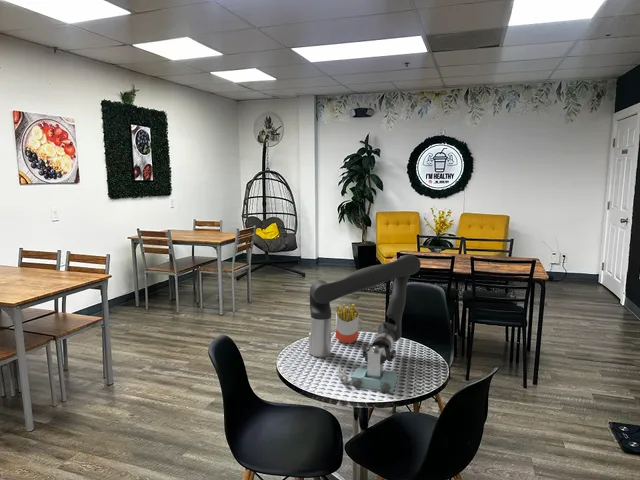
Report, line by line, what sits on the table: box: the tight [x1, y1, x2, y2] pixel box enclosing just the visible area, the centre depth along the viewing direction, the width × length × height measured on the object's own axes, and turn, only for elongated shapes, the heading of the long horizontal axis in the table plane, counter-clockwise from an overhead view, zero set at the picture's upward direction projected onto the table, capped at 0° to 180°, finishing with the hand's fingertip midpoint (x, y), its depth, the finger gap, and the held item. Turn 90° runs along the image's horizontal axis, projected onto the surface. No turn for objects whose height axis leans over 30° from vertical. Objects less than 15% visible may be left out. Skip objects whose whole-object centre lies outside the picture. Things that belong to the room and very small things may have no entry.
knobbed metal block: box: [366, 346, 384, 377], centre depth 167 cm, size 5×6×11 cm
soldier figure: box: [336, 365, 351, 385], centre depth 170 cm, size 8×5×12 cm
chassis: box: [350, 366, 398, 394], centre depth 168 cm, size 16×12×4 cm
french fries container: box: [335, 303, 360, 344], centre depth 211 cm, size 5×11×18 cm, turn 88°
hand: (374, 361), depth 164 cm, fingers closed on knobbed metal block, 4 cm apart
